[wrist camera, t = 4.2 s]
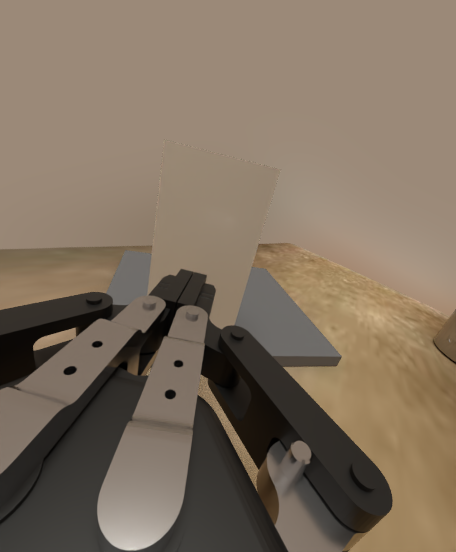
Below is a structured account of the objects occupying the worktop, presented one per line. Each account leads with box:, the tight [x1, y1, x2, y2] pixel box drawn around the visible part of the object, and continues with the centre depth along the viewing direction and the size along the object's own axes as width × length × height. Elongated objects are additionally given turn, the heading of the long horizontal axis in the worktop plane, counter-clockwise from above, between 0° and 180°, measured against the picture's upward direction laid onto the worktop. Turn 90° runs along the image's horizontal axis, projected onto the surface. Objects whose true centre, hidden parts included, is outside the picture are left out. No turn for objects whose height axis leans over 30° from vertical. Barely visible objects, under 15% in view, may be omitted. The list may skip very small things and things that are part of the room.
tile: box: [147, 140, 280, 329], centre depth 17 cm, size 2×7×14 cm, turn 86°
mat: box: [106, 250, 342, 367], centre depth 28 cm, size 22×20×1 cm
